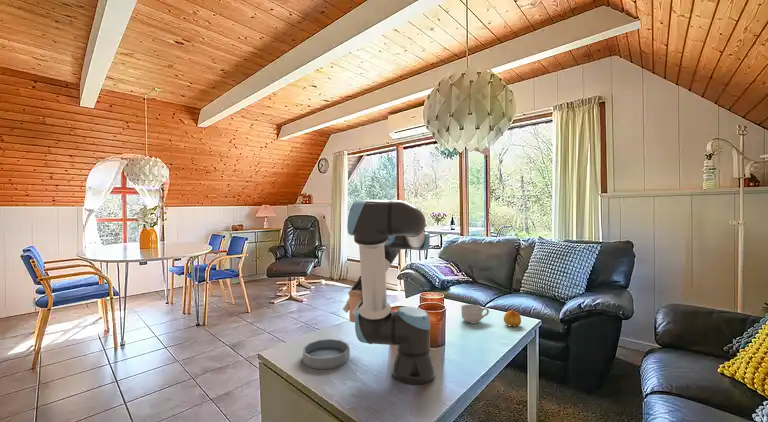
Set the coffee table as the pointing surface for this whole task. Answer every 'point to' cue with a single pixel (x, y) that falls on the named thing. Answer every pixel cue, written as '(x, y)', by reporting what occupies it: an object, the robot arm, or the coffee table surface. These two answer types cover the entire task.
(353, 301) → the terracotta jar
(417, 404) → the coffee table surface
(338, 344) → the slate bowl
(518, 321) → the fruit
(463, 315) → the teacup
